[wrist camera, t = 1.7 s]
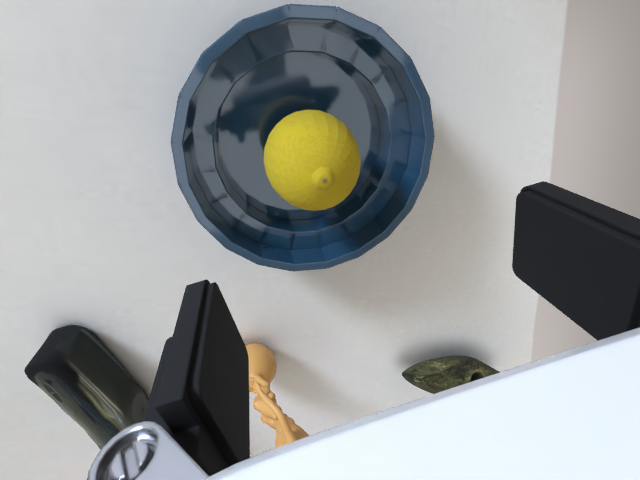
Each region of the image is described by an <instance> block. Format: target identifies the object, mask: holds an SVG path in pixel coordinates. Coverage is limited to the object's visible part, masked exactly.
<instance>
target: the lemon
mask: <svg viewBox="0 0 640 480" xmlns="http://www.w3.org/2000/svg"><path fill="white" fill-rule="evenodd" d="M360 161H361V160H360V154H359V148H358V145H357V143H356V141H355V138H354V136H353V134H352V133H351V131H350V130H349V129H348V128H347V127H346V125H345V124H344V123H343V122H342V121H340V120H339V119H337V118H336V117H334V116H333V115H331V114H328V113H326V112H323V111H320V110H302V111H297V112H294V113H292V114H290V115H288V116H286V117H284V118H283V119H282V120H281V121H280V122H279V123H277V124H276V125H275V127H274V128H273V130H272V131H271V133H270V134H269V136H268V139H267V142H266V145H265V148H264V166H265V171H266V175H267V177H268V179H269V181H270V184H271V186H272V187H273V188H274V190H275V191H276V192H277V193H278V194H279V196H280V197H281V198H283V199H284V200H286V201H287V202H288V203H290V204H291V205H293V206H296V207H298V208H301V209H303V210H311V211H317V210H325V209H328V208H331V207H334V206H336V205H337V204H339V203H340V202H342V201H343V200H344V199H345V198H346V197H347V196H348V195H349V194H350V193H351V191H352V190H353V188H354V187H355V185H356V183H357V180H358V177H359V174H360Z"/></svg>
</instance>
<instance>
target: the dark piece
mask: <svg viewBox="0 0 640 480" xmlns="http://www.w3.org/2000/svg"><path fill="white" fill-rule="evenodd" d="M25 373H26V375H27V377H28V378H29V379H30V380H31V381H32V382H33V383H35V384H36V385H37V386H39V387H40V388H41V389H42V390H43V391H44V392H45V393H46V394H48V395H49V396H50V397H51V398H52V399H53V400H54V401H55V402H56V403H57V404H58V405H59V406H60V407H61V408H62V409H63V410H64V411H65V412H66V413H67V414H68V415H69V416H70V417H71V418H72V419H74V420H75V421H76V422H77V423H78V424H79V425H80V426H81V427H83V428H84V430H85V431H86V432H87V433H88V435H89V436H90V437H91V438H92V439H93V441H94V442H95V443H96V444H97V445H98V447H99V448H100V450H101V449H102V448H103V447H104V446H105V445H106V444H107V443H108V442H109V441H110V440H111V439H112V438H113V437H114V436H115V435H117V434H118V433H120V432H121V431H122V430H124V429H125V428H127V427H129V426H131V425H134V424H136V423H140V422H143V418H144V415H145V411H146V408H147V404H148V401H149V400H148V399H147V397H146V395H145V394H144V392H143V391H142V390H141V389H140V388H139V387H138V386H137V385H136V383H135V382H134V381H133V380H132V379H131V378H130V377H129V376H128V374H127V373H126V372H125V370H124V369H123V367H122V366H121V365H120V364H119V362H118V361H117V360H116V359H115V358H114V357H113V356H112V355H111V353H110V352H109V351H108V350H107V349H106V347H105V346H104V345H103V344H102V343H101V342H100V340H99V339H98V338H97V337H96V336H95V335H94V334H93V333H91V332H90V331H89V330H88V329H86V328H83V327H80V326H76V325H70V326H65V327H61V328H58V329H55V330H53V331H52V332H51V333H50V335H49V336H48V338H47V339H46V341H45V342H44V344H43V345H42V346H41V348H40V349H39V350H38V352H37V353H36V354H35V356H34V357H33V358H32V360H31V361H30V362H29V364H28V365H27V366H26V368H25Z"/></svg>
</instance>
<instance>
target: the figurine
mask: <svg viewBox="0 0 640 480" xmlns="http://www.w3.org/2000/svg"><path fill="white" fill-rule="evenodd" d="M245 346H246V349H247V352H248V357H249V392H253V393H258V395H257V396H256V397H255V399H254V402H253V406H254V408H255V409H256V410H258V411H259V412H261V413H262V416H261V420H262V422H263V423H266V424H268V425H269V426H270V427H272V428H274V429H276V441H275V446H276V448H277V447H279V446H282V445H285V444H288V443H291V442H294V441H296V440H299V439H302V438H305V437H308V436H309V435H308V434H307V433H306V432H305V431H304V430H303V429H302V428H301V427H299V426H298V425H296V424H295V422H294V420H293V419H292V418H290V417H288V416H287V415H286V414H284V413H283V412H282V409H281V408H280V407H279V406H278V405H277V404H276V399H275V394H274V393H273V392H272V391H270V382H271V381H272V380H273V378H274V376H275V373H276V359H275V356H274V354H273V353H272V351H271V350H270V349H269V348H268V347H266V346H264V345H262V344H258V343H251V344H247V345H245Z"/></svg>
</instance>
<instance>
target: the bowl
mask: <svg viewBox="0 0 640 480" xmlns="http://www.w3.org/2000/svg"><path fill="white" fill-rule="evenodd" d="M302 110H320V111H323V112H326V113H328V114H331V115H333V116H334V117H336V118H337V119H339V120H340V121H342V122H343V123H344V124H345V125H346V127H347V128H348V129H349V130H350V131H351V133H352V134H353V136H354V138H355V141H356V143H357V145H358V148H359V154H360V160H361V161H360V174H359V177H358V180H357V183H356V185H355V187H354V188H353V190H352V191H351V193H350V194H349V195H348V196H347V197H346V198H345V199H344V200H343V201H342V202H340V203H339V204H337V205H336V206H334V207H331V208H328V209H325V210H317V211H311V210H303V209H301V208H298V207H296V206H293V205H291V204H290V203H288V202H287V201H286V200H284V199H283V198H281V197H280V196H279V194H278V193H277V192H276V191H275V190H274V188H273V187H272V186H271V184H270V181H269V179H268V177H267V175H266V171H265V166H264V148H265V145H266V142H267V139H268V136H269V134H270V133H271V131H272V130H273V128H274V127H275V125H276V124H277V123H279V122H280V121H281V120H282V119H283V118H284V117H286V116H288V115H290V114H292V113H294V112H297V111H302ZM433 142H434V130H433V121H432V113H431V105H430V98H429V95H428V93H427V91H426V89H425V87H424V84H423V82H422V80H421V78H420V76H419V74H418V72H417V69H416V67H415V65H414V63H413V61H412V59H411V57H410V56H409V55H408V54H407V53H406V52H405V51H404V50H403V49H402V48H401V47H400V46H399V45H398V44H397V43H396V42H395V41H394V40H393V39H392V38H391V37H390V36H389V35H388V34H387V33H386V32H385V31H384V30H383V29H382V28H381V27H379V26H378V25H376V24H374V23H372V22H370V21H368V20H365V19H363V18H361V17H359V16H357V15H355V14H352V13H350V12H348V11H346V10H344V9H341V8H339V7H336V6H318V5H300V4H289V5H288V4H287V5H284V6H281V7H278V8H275V9H272V10H269V11H266V12H263V13H260V14H257V15H254V16H251V17H248V18H245V19H242V20H241V21H239V22H238V23H237V24H236V25H234V26H233V27H232V28H231V29H230V30H228V31H227V32H226V33H225V34H224V35H223V36H221V37H220V38H219V39H218V40H217V41H215V42H214V43H213V44H212V45H211V46H209V47H208V48H207V49H206V50H205V51H204V52H203V53H202V54H201V56H200V58H199V59H198V61H197V63H196V65H195V67H194V68H193V70H192V72H191V74H190V76H189V77H188V79H187V81H186V83H185V84H184V86H183V88H182V90H181V92H180V93H179V96H178V101H177V107H176V113H175V119H174V125H173V131H172V137H171V146H172V152H173V158H174V164H175V169H176V175H177V181H178V185H179V187H180V189H181V191H182V193H183V195H184V197H185V198H186V200H187V202H188V204H189V206H190V208H191V210H192V211H193V213H194V215H195V217H196V219H197V220H198V222H199V223H200V224H201V225H202V226H203V227H204V228H205V229H206V230H207V231H208V232H209V233H210V234H211V235H213V236H214V237H215V238H216V239H217V240H218V241H219V242H220V243H221V244H222V245H223V246H224V247H225V248H226V249H228V250H230V251H232V252H234V253H236V254H238V255H240V256H242V257H244V258H246V259H248V260H250V261H252V262H254V263H256V264H258V265H262V266H267V267H273V268H278V269H283V270H288V271H303V270H315V269H326V268H330V267H333V266H335V265H338V264H341V263H344V262H347V261H349V260H352V259H355V258H358V257H359V256H361V255H363V254H364V253H366V252H367V251H369V250H370V249H372V248H373V247H374V246H376V245H377V244H379V243H380V242H382V241H383V240H384V239H386V238H387V237H388V236H390V234H391V233H392V232H393V231H394V230H395V229H396V227H397V226H398V225H399V224H400V223H401V222H402V220H403V219H404V218H405V217H406V216H407V214H408V213H409V212H410V211H411V209H412V208H413V206H414V204H415V202H416V200H417V197H418V195H419V193H420V191H421V189H422V187H423V185H424V183H425V181H426V179H427V175H428V172H429V166H430V160H431V154H432V148H433Z"/></svg>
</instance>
